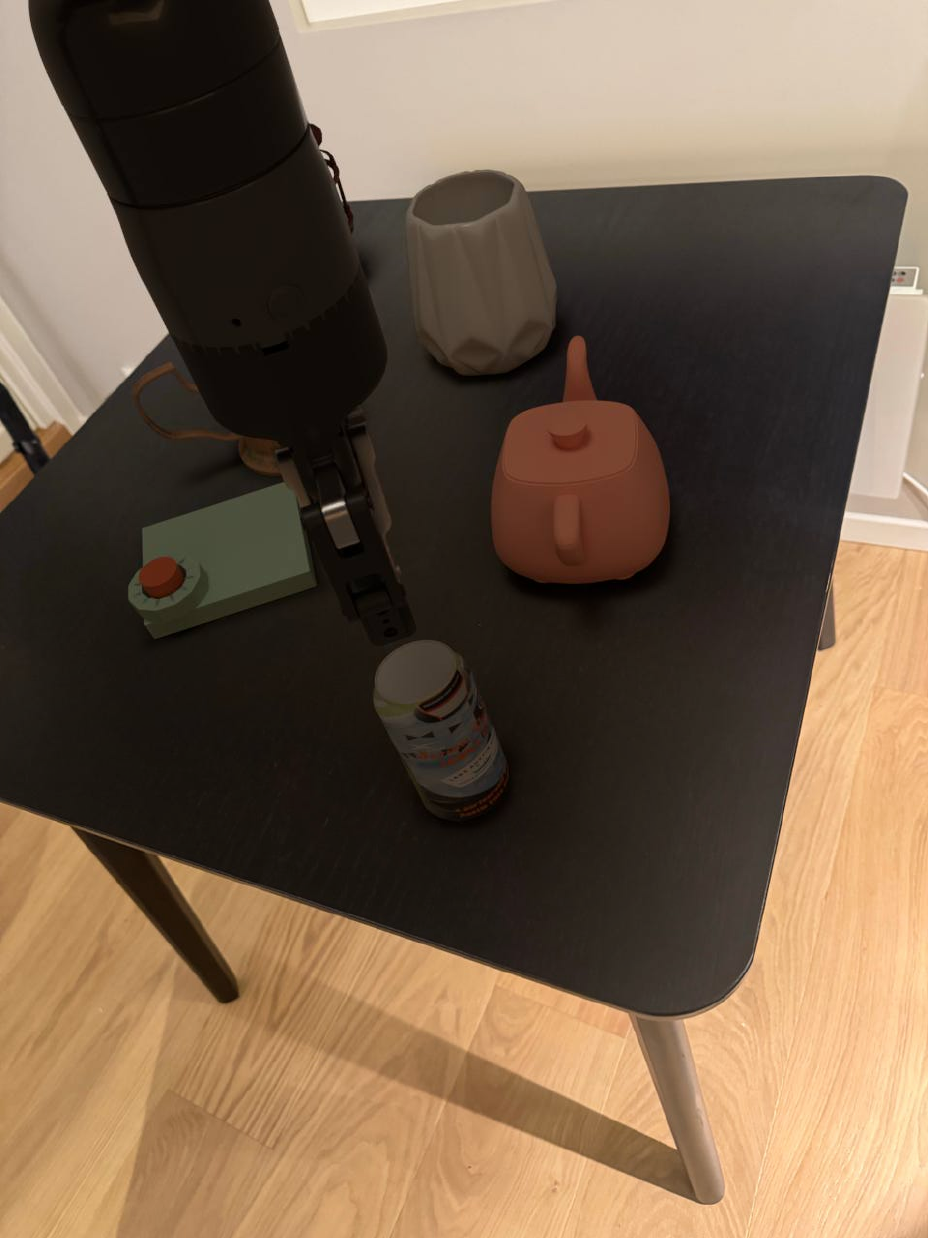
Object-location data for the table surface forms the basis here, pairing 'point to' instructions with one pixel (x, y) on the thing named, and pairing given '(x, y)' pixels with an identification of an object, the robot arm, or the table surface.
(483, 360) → the vase
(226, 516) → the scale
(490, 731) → the beverage can
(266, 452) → the mug
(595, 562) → the teapot
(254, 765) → the table surface
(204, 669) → the table surface
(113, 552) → the table surface
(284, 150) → the robot arm
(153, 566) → the button
